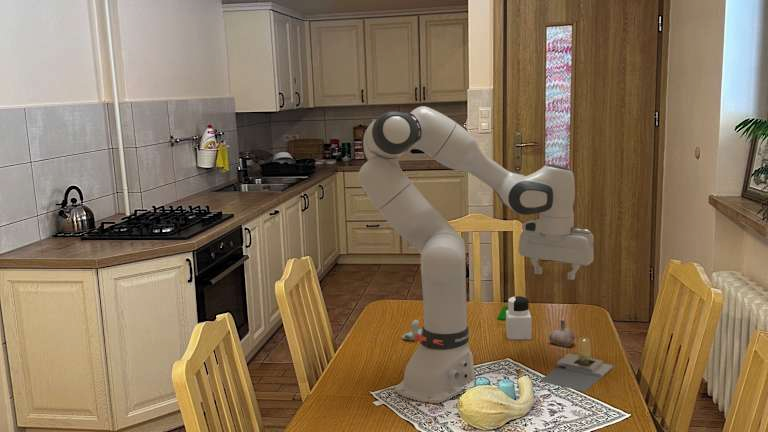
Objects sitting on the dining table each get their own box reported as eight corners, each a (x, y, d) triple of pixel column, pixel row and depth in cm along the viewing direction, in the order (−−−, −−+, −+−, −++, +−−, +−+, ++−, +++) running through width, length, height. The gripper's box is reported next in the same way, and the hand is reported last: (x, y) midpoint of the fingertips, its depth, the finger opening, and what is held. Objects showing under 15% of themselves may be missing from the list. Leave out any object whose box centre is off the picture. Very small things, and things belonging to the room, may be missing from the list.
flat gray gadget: (601, 377, 180) (601, 371, 180) (557, 367, 187) (557, 361, 187) (611, 368, 186) (612, 362, 185) (568, 359, 193) (568, 353, 193)
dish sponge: (524, 313, 239) (524, 307, 239) (519, 327, 226) (519, 319, 226) (503, 312, 242) (503, 305, 241) (496, 325, 229) (496, 318, 228)
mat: (584, 397, 172) (584, 391, 172) (539, 386, 180) (539, 380, 179) (615, 370, 188) (615, 365, 187) (572, 361, 195) (572, 356, 195)
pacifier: (397, 339, 219) (411, 343, 214) (396, 319, 218) (409, 323, 213) (415, 333, 223) (428, 337, 219) (414, 314, 222) (427, 317, 218)
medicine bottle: (529, 332, 220) (529, 294, 218) (531, 339, 213) (531, 301, 211) (505, 332, 221) (505, 294, 219) (507, 339, 214) (507, 301, 212)
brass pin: (588, 370, 184) (589, 341, 183) (576, 369, 186) (577, 339, 184) (591, 366, 187) (591, 337, 186) (579, 365, 188) (579, 336, 187)
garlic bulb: (573, 350, 204) (573, 323, 202) (547, 348, 206) (547, 321, 205) (575, 341, 211) (576, 315, 209) (550, 339, 213) (550, 313, 212)
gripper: (599, 228, 185) (596, 279, 187) (527, 220, 197) (525, 268, 200) (589, 232, 180) (587, 285, 182) (516, 223, 192) (515, 273, 195)
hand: (554, 276), depth 191 cm, fingers open, 8 cm apart
